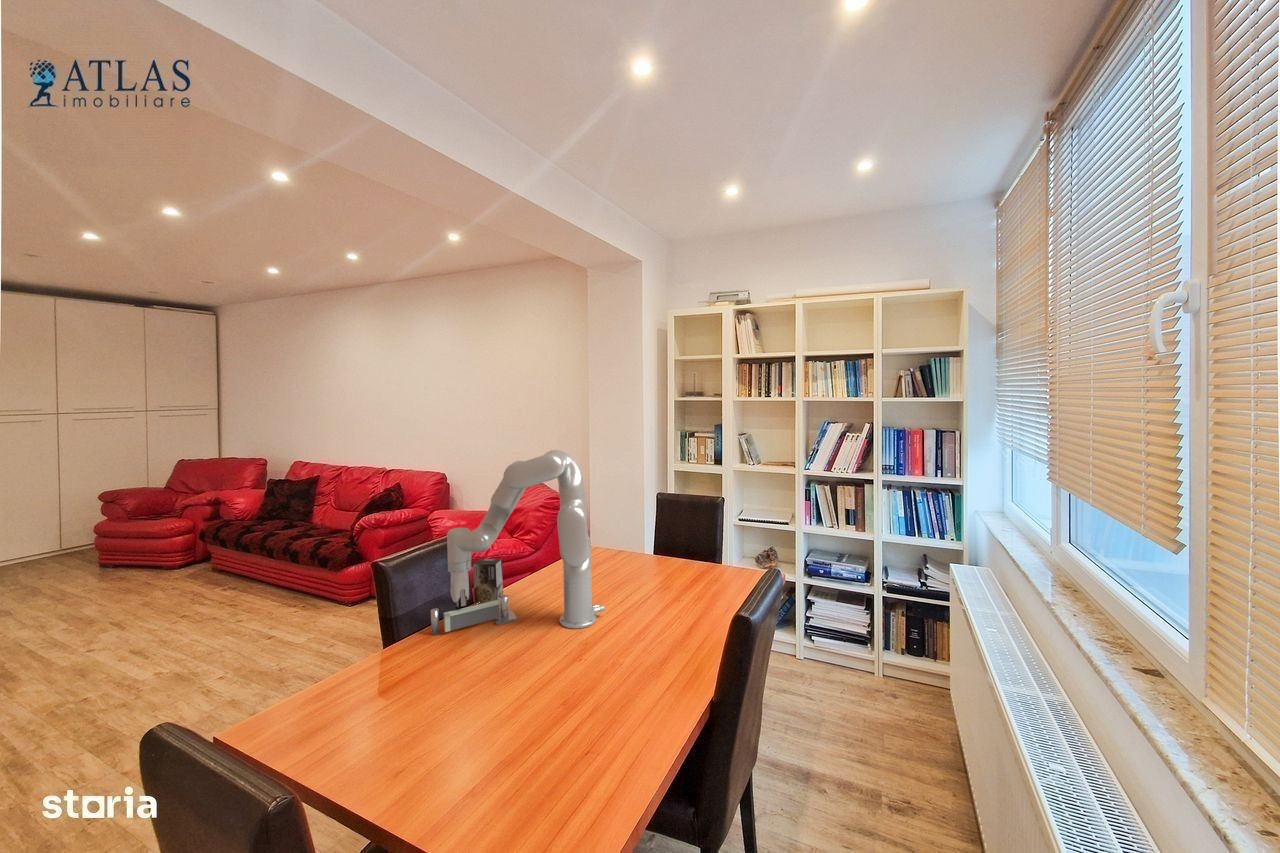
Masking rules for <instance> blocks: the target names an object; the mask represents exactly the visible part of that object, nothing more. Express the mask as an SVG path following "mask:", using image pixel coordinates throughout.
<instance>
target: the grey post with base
mask: <svg viewBox="0 0 1280 853" xmlns="http://www.w3.org/2000/svg"><path fill="white" fill-rule="evenodd" d="M517 621H518V618H517V615H515V613H514V611H513V610H509V595H508V594H503V595H502V596H500V604H499V618H496V619H493V622H494V623H495V625H496V626H498V625H504V624H508V622H509V623H513V622H517Z"/></svg>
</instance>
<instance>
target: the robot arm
mask: <svg viewBox="0 0 1280 853" xmlns="http://www.w3.org/2000/svg"><path fill="white" fill-rule="evenodd" d="M555 479H557V481H558V482H557V484H558V492H559V493H558V494H559V511H558V513H557V518H556V520H557V522H556V523H557V524H556V525H557V534H558V544H559V553H560V557H561V560H562V563H563V564H562V567H563V568H562V569H563V570H562V571H563V572H562V573H563V579H562V580H563V614H562V615H561V616H559V624H560V625H561V626H562V627H564V628H567V629H583V628H587V627H590V626H592V625H594V624H595V623H596V621H597V614H598V613H603V612H605V611H606V608H605V605H599V604H595V605H593V604H592V602H593V600H592V541H591V537H590V535H589V529H588V510H587V505H586V504H587V502H586V493H585V492H586V491H585V488H584V487H585V486H584V479H583V473H582V470H581V467H580V465H579V463H578V462H577V461H576V459H575V458H574V457H573V456H571V455H570V454H568V453H567V452H565V451H563V450H562V451H561V450H557V449H552V450H549V451H547V452H545V453H544V454H542V455H540V456H536V457H533V458H530V459H527V460H516V461H514V462H512V463H510V464H509V465H508V466H507V467H506V468H505V470H504V472H503V476H502V479H501V480H500V483H499V484H498V485H497V488H496V489H495V491H494V493H492V496H491V498H490V504H489V508H488V510H487V512H486V514H485V515H484V517H483V518H482V520H481V522H480V524H479V525H478V526H477V527H476V528H475V529H473V530H470V529H469V528H468V527H454V528H452V529H449V530H448V532H447V534H446V541H447V542H446V544H447V547H446V548H447V571H448V572H449V573H450V597H451V599H452V601H453V603H455V610H458V609H462V608H466V607H467V601H468V600H469V599H470V581H469V580H470V577H469V571H470V570H472V568H473V564H472V553H484V552H486V551H488V550H489V549H490V548H491V547H492V545H493V543H495V541H496V540H497V537H498V536H499V535H500V533H501V531H502V529H503V528H504V527H505V524H506V522H507V521H508V519H509V517H510V516H511V514H512V513H514V510H515V509H516V507H517V505H518V503H519V501H520V500H521V498H522V496H523V495H524V493H525V491H526V489H527V488H530V487H533V486H536V485H540V484H542V483H543V484H544V483H546V482H549V481H553V480H555Z"/></svg>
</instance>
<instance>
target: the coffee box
mask: <svg viewBox="0 0 1280 853" xmlns="http://www.w3.org/2000/svg"><path fill="white" fill-rule="evenodd" d="M472 568H473V569H472V570H473V590H474V594H473V595H474V605H478V604H483V603H487V602H491V601H495V600H498V601H499V605H500V596H502V595H504V586H503V585H504V583H503V582H504V581H503V559H502V558H479V559H478V560H477V561H476V562H474V563H473V564H472ZM479 602H480V603H479ZM477 603H478V604H477Z"/></svg>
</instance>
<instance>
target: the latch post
mask: <svg viewBox="0 0 1280 853" xmlns="http://www.w3.org/2000/svg"><path fill="white" fill-rule="evenodd" d="M439 614H440V612H439V608H438V607H437V608H436V607H435V608H432V609H431V610H430V628H431V631H430V632H431V636H437V635H440V616H439Z"/></svg>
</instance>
